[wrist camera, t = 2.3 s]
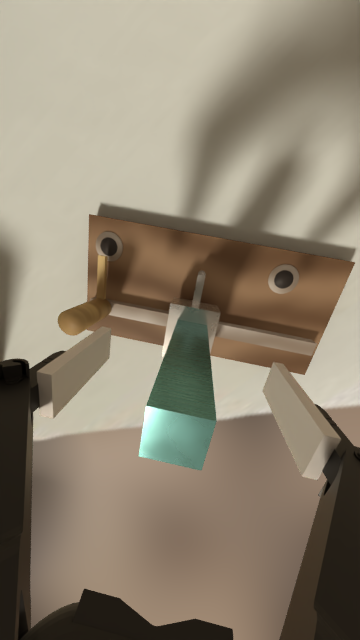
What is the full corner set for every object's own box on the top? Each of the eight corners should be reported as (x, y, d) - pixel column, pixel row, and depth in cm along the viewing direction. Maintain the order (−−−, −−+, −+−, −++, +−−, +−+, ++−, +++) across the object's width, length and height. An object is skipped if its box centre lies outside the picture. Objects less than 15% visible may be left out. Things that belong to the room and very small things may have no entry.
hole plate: (96, 216, 23) (37, 194, 15) (345, 262, 22) (432, 265, 14) (92, 326, 28) (46, 355, 19) (299, 368, 26) (343, 419, 18)
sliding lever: (180, 265, 22) (134, 287, 7) (224, 274, 22) (280, 315, 6) (167, 340, 25) (116, 472, 10) (206, 348, 25) (215, 496, 10)
